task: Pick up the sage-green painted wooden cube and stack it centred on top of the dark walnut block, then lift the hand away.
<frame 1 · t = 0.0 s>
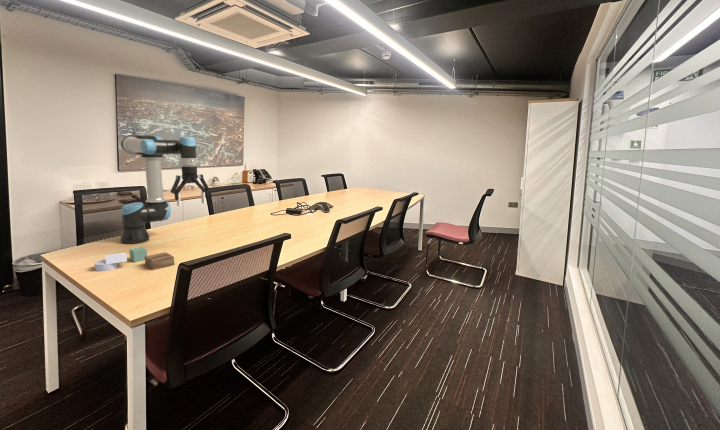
hand: (191, 204, 195), 28 cm above the table, tool pointing down, fingers open, 13 cm apart
walnut block: (159, 265, 180), on the table
wedge on round base: (111, 267, 175), on the table
green cube: (138, 260, 187), on the table
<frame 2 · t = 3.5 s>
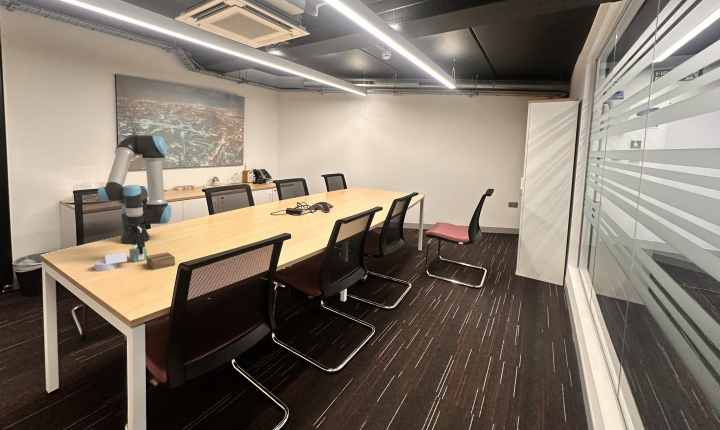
hand: (138, 258, 187), 1 cm above the table, tool pointing down, fingers closed on green cube, 6 cm apart
green cube: (138, 259, 187), on the table, touching gripper
when the fingers open (7 cm above the table, at t = 8.5 s): green cube drops 2 cm, resting on walnut block.
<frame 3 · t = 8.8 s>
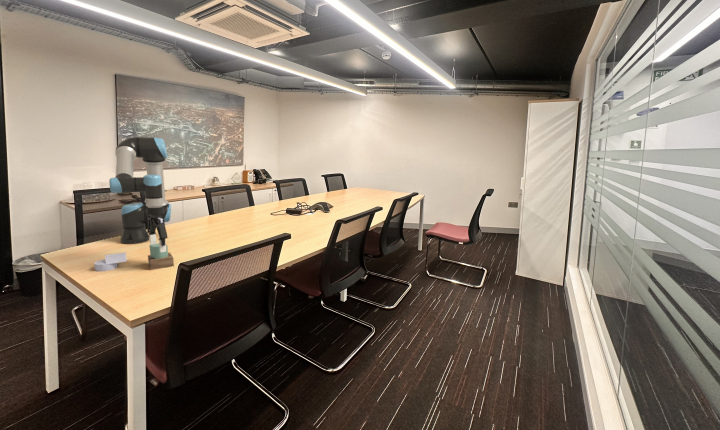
hand: (158, 249, 179), 8 cm above the table, tool pointing down, fingers open, 10 cm apart
walnut block: (161, 265, 180), on the table, touching green cube
green cube: (159, 256, 179), point 5 cm above the table, touching walnut block
everything else where it was.
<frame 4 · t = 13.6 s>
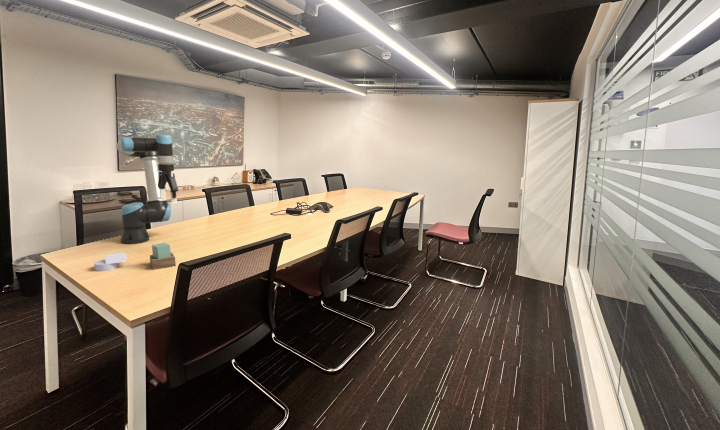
hand: (168, 202, 196), 29 cm above the table, tool pointing down, fingers open, 13 cm apart
green cube: (161, 256, 180), point 5 cm above the table, touching walnut block
everything else where it was.
at the end: green cube inside the target area on the walnut block (0.2 cm from its centre), point 5.0 cm above the walnut block's base; green cube tilted 0°; green cube touching walnut block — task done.
